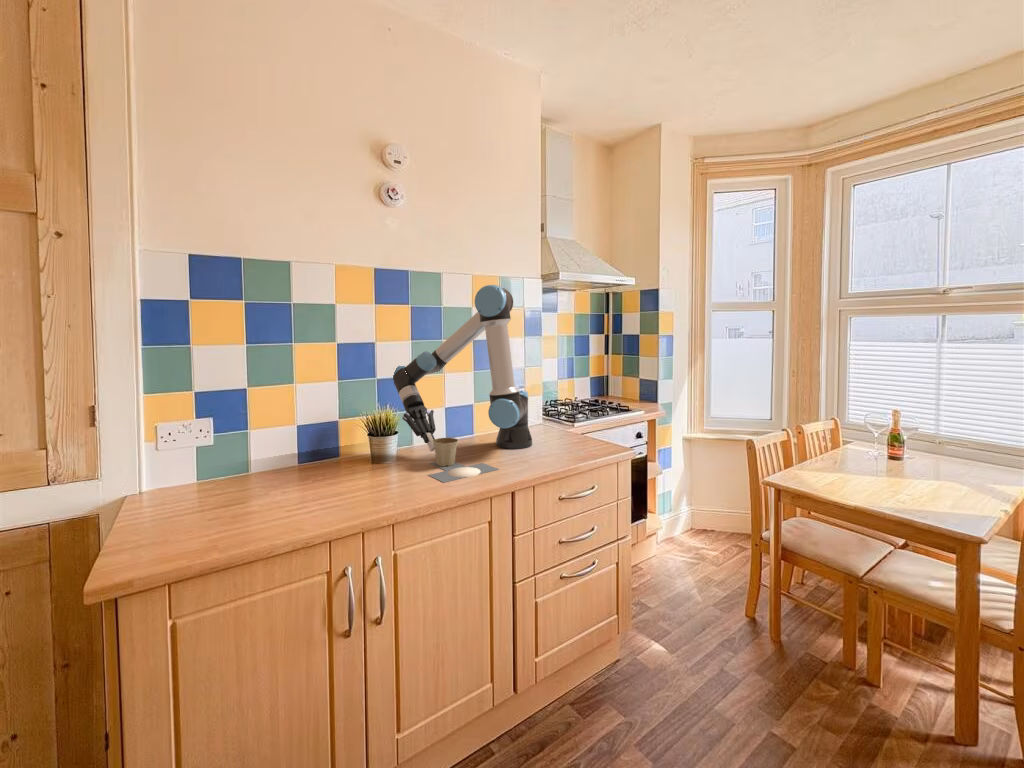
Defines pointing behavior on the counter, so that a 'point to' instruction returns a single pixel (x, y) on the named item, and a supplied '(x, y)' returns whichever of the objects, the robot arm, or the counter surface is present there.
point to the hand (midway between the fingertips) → (433, 449)
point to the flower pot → (445, 450)
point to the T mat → (460, 471)
